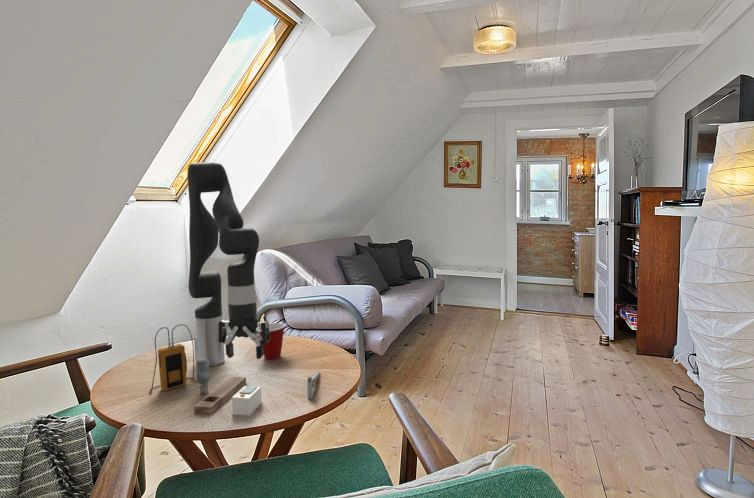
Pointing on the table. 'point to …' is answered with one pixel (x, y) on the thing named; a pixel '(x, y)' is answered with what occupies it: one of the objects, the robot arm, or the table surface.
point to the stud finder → (246, 400)
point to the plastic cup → (273, 341)
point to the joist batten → (219, 395)
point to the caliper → (312, 384)
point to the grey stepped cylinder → (203, 375)
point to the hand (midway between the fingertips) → (245, 357)
